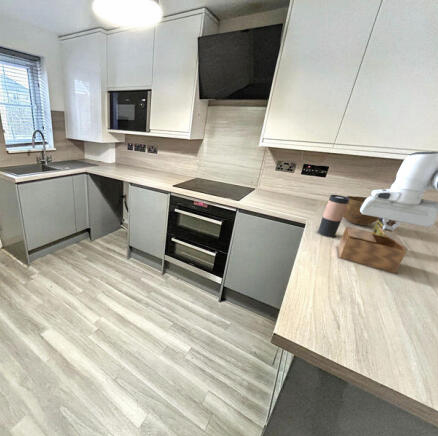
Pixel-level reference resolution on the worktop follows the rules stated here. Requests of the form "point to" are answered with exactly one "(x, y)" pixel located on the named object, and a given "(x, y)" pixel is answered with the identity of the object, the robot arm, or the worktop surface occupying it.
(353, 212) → the bowl
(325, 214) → the travel mug
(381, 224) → the sauce bottle
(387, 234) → the carton flap
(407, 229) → the worktop surface
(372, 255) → the carton
